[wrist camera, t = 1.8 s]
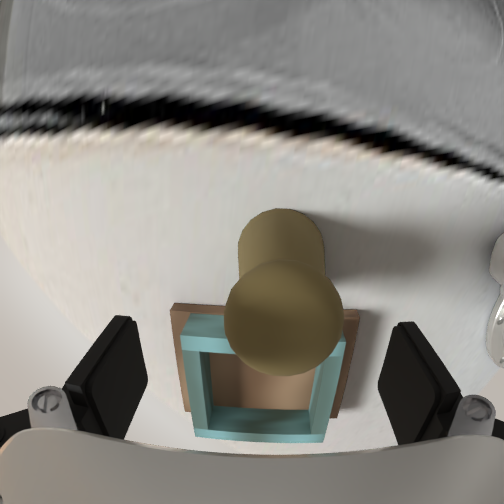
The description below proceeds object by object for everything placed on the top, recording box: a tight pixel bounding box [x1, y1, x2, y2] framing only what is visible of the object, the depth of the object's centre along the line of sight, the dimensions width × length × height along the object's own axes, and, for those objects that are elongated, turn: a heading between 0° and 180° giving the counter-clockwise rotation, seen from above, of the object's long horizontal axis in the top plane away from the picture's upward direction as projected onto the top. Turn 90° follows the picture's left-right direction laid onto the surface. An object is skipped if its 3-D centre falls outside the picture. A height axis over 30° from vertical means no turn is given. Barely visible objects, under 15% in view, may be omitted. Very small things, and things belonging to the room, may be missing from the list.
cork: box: [224, 208, 344, 376], centre depth 17 cm, size 6×6×11 cm
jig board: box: [170, 303, 360, 443], centre depth 24 cm, size 14×11×4 cm
